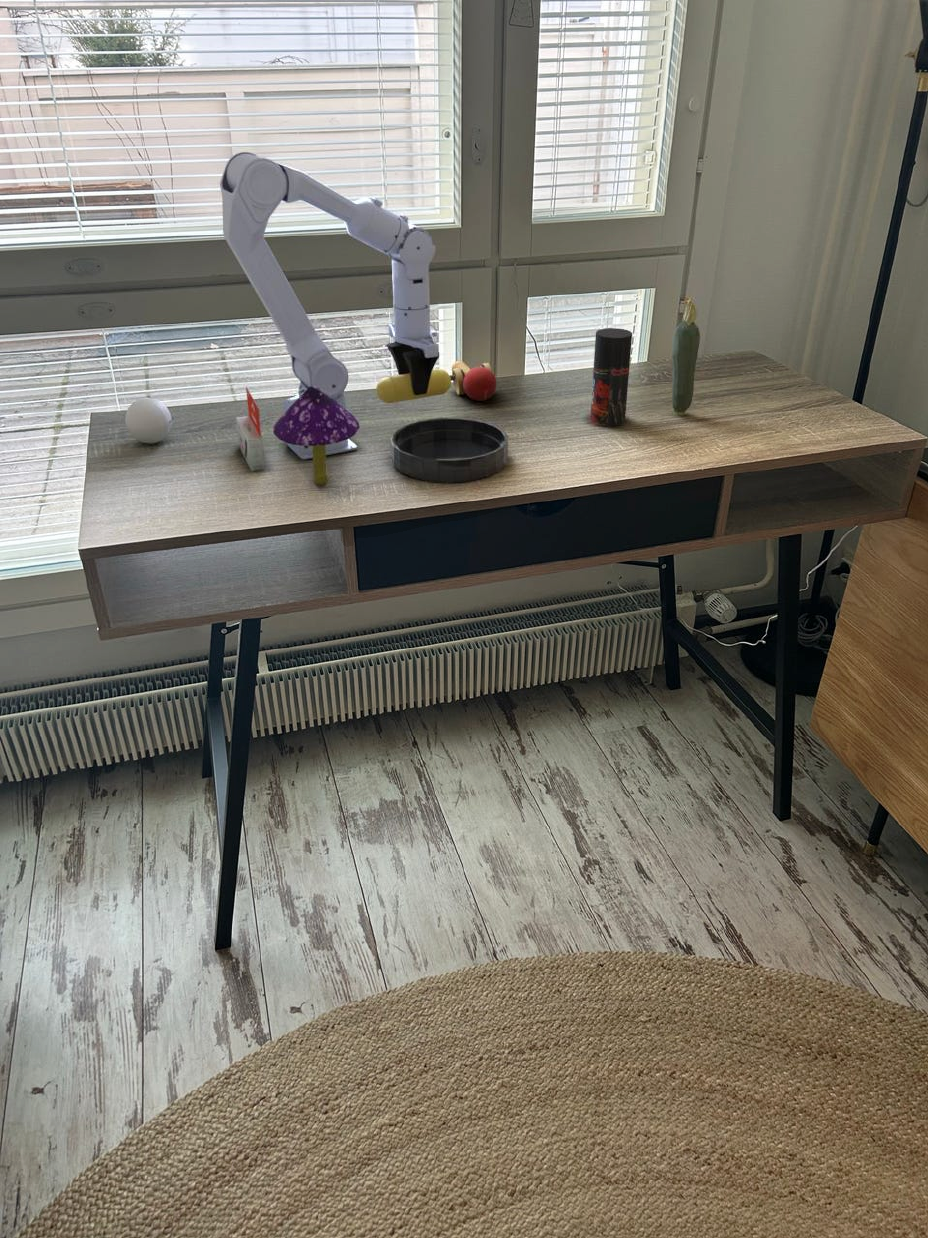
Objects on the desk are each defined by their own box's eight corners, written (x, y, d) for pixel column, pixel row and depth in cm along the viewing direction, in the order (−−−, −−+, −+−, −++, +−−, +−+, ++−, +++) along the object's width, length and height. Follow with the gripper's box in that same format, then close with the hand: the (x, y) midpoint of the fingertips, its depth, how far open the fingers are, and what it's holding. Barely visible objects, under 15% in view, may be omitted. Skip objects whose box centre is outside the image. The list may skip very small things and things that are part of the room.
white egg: (174, 448, 155) (166, 404, 151) (127, 451, 154) (118, 407, 150) (179, 427, 164) (172, 385, 160) (134, 429, 163) (126, 387, 159)
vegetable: (692, 420, 165) (707, 301, 154) (667, 420, 165) (680, 301, 154) (687, 411, 168) (701, 294, 158) (663, 411, 168) (675, 294, 158)
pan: (423, 492, 140) (422, 468, 138) (374, 452, 153) (373, 429, 151) (528, 469, 147) (529, 446, 145) (473, 432, 160) (473, 410, 158)
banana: (383, 408, 154) (381, 382, 152) (372, 400, 158) (371, 375, 155) (460, 394, 160) (460, 370, 158) (448, 387, 163) (448, 363, 161)
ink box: (251, 472, 147) (243, 411, 142) (239, 446, 156) (231, 388, 151) (267, 469, 147) (259, 409, 142) (254, 444, 156) (246, 386, 151)
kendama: (436, 384, 186) (460, 401, 170) (440, 351, 184) (465, 365, 168) (474, 388, 188) (501, 405, 172) (478, 355, 186) (506, 369, 170)
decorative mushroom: (304, 509, 135) (293, 407, 127) (265, 481, 144) (252, 383, 136) (379, 488, 141) (373, 388, 134) (337, 461, 150) (329, 367, 142)
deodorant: (631, 423, 163) (639, 335, 156) (600, 428, 162) (606, 339, 154) (614, 412, 168) (620, 326, 160) (584, 417, 166) (589, 330, 158)
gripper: (455, 312, 147) (456, 398, 154) (414, 293, 158) (417, 374, 165) (413, 318, 144) (416, 405, 151) (375, 298, 155) (379, 380, 162)
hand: (414, 389), depth 158 cm, fingers closed on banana, 4 cm apart
